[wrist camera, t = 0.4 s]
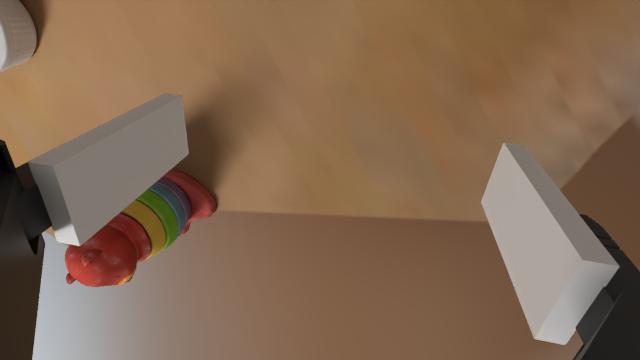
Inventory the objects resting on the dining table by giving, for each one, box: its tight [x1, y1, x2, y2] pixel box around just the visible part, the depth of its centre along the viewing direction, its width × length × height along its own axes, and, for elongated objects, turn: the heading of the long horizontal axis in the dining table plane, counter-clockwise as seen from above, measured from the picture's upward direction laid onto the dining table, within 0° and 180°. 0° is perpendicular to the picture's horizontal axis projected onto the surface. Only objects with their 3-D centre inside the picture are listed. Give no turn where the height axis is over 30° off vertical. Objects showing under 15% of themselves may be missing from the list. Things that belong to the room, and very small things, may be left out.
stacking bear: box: [65, 170, 216, 287], centre depth 45 cm, size 11×10×18 cm
